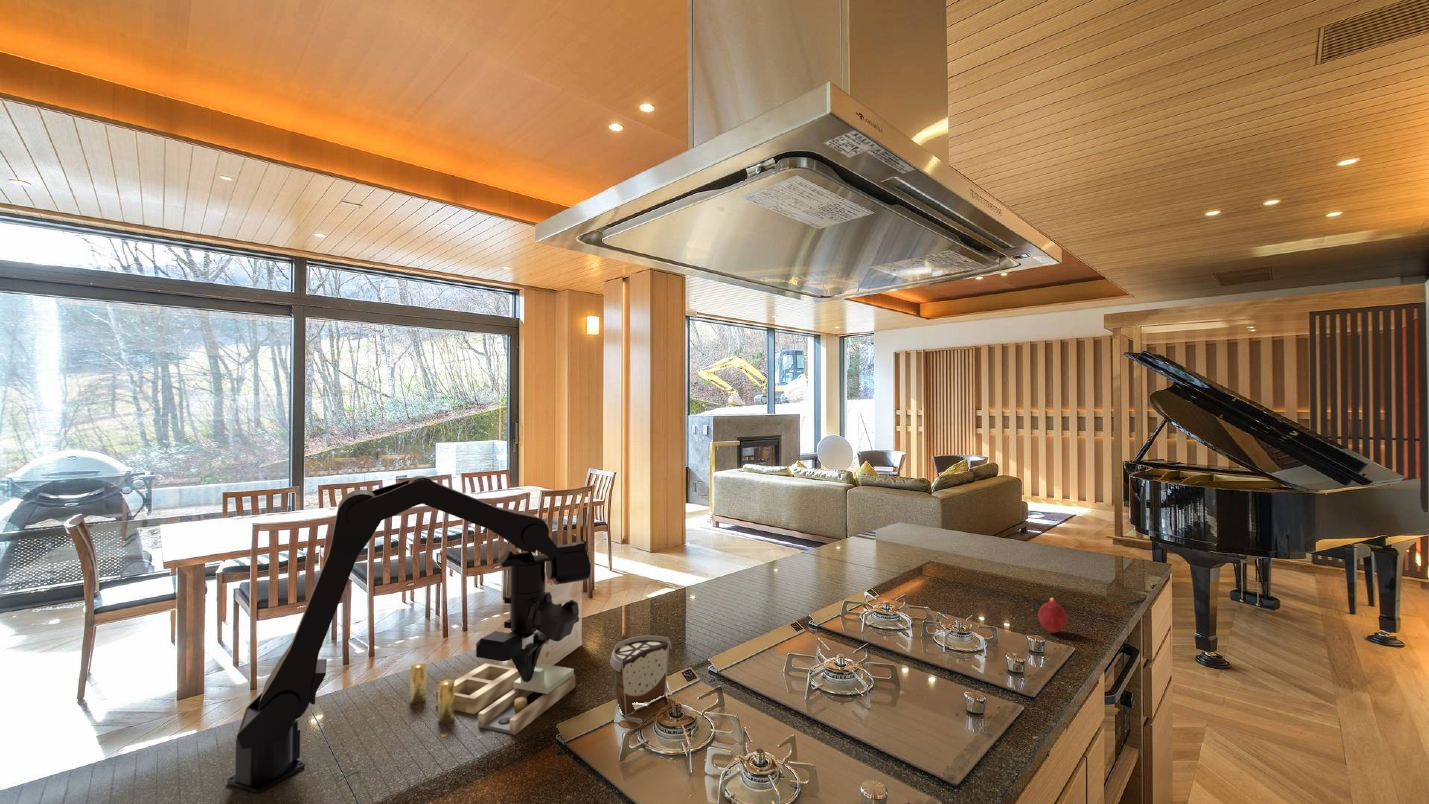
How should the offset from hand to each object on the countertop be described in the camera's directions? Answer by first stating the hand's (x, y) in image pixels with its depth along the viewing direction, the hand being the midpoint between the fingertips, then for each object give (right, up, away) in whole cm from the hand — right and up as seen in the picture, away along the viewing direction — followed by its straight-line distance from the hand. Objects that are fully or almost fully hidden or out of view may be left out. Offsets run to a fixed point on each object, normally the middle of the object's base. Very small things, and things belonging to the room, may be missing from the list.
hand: (527, 681), depth 100 cm
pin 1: (-20, -5, +3) cm, 21 cm away
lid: (+2, -2, +5) cm, 5 cm away
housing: (0, -5, +1) cm, 5 cm away
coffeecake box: (-2, -5, +21) cm, 22 cm away
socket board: (-10, -5, +5) cm, 12 cm away
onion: (+110, -6, +35) cm, 115 cm away
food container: (+18, -5, +3) cm, 19 cm away
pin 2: (-12, -5, -4) cm, 13 cm away
